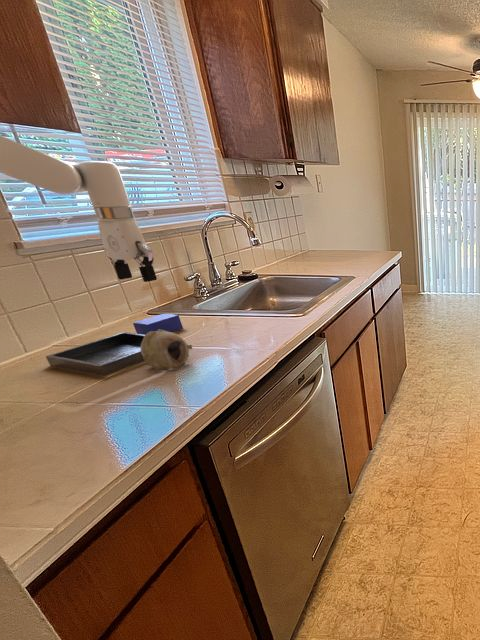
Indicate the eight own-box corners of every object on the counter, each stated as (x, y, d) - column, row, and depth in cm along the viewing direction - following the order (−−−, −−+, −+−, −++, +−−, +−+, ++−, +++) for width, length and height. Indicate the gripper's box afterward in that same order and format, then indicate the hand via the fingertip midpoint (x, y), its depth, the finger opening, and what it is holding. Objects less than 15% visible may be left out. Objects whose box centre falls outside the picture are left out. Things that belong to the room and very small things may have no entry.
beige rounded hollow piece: (155, 382, 95) (121, 350, 89) (166, 363, 101) (135, 332, 95) (194, 366, 96) (163, 334, 90) (202, 348, 102) (174, 317, 96)
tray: (51, 368, 97) (45, 356, 96) (128, 342, 112) (124, 331, 111) (105, 378, 91) (99, 366, 90) (179, 350, 107) (175, 338, 105)
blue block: (139, 339, 115) (132, 322, 113) (169, 328, 123) (164, 313, 121) (153, 341, 113) (147, 324, 111) (184, 330, 121) (178, 314, 119)
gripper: (76, 214, 103) (101, 280, 110) (122, 215, 98) (146, 284, 105) (108, 212, 109) (130, 275, 116) (153, 214, 104) (174, 279, 111)
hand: (138, 279), depth 111 cm, fingers open, 9 cm apart
